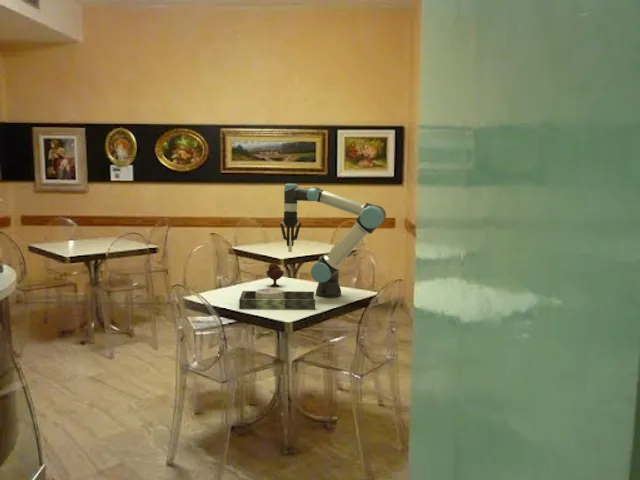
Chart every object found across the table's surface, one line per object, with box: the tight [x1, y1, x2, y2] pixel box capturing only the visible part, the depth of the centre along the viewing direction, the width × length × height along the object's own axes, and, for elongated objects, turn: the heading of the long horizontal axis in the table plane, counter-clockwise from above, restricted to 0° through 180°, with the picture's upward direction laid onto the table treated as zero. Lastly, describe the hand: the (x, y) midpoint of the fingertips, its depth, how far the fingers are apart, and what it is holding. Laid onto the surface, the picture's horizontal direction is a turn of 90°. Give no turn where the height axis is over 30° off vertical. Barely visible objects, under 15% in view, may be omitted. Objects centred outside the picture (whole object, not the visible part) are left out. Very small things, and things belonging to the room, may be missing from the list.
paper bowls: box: [255, 287, 284, 299], centre depth 313 cm, size 15×15×8 cm
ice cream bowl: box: [266, 262, 285, 288], centre depth 363 cm, size 11×11×15 cm
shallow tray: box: [238, 290, 316, 310], centre depth 314 cm, size 40×22×5 cm, turn 93°
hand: (290, 251), depth 330 cm, fingers closed
